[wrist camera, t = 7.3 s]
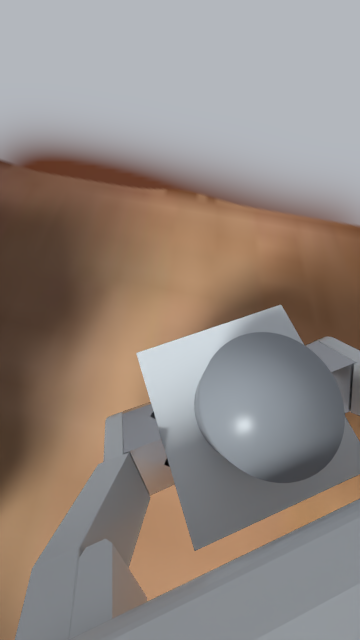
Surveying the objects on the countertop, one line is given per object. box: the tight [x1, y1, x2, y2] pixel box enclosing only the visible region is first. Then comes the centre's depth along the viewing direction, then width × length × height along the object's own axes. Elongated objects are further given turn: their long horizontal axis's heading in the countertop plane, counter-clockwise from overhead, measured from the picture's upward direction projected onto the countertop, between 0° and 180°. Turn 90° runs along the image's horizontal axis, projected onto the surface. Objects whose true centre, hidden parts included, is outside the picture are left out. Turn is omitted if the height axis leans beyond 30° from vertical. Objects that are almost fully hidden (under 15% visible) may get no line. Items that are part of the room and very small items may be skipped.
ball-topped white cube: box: [136, 305, 360, 551], centre depth 9 cm, size 5×5×8 cm
